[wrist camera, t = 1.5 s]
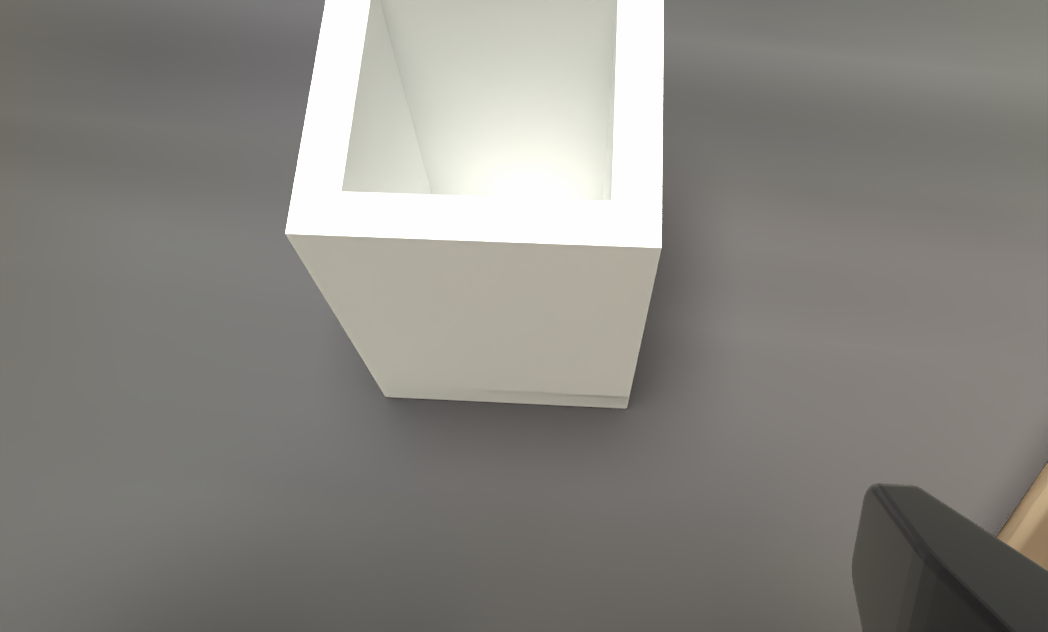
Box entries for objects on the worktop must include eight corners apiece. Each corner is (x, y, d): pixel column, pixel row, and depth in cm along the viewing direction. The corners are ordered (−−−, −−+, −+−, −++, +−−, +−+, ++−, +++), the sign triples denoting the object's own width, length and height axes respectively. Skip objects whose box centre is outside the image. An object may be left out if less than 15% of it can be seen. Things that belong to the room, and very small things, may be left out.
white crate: (626, 408, 23) (661, 247, 15) (385, 397, 23) (285, 234, 15) (631, 193, 25) (664, -53, 17) (411, 186, 26) (336, -59, 17)
